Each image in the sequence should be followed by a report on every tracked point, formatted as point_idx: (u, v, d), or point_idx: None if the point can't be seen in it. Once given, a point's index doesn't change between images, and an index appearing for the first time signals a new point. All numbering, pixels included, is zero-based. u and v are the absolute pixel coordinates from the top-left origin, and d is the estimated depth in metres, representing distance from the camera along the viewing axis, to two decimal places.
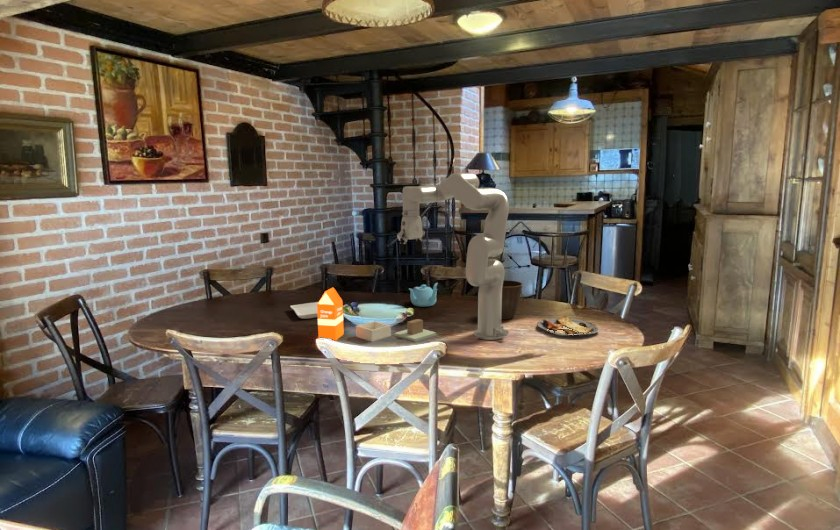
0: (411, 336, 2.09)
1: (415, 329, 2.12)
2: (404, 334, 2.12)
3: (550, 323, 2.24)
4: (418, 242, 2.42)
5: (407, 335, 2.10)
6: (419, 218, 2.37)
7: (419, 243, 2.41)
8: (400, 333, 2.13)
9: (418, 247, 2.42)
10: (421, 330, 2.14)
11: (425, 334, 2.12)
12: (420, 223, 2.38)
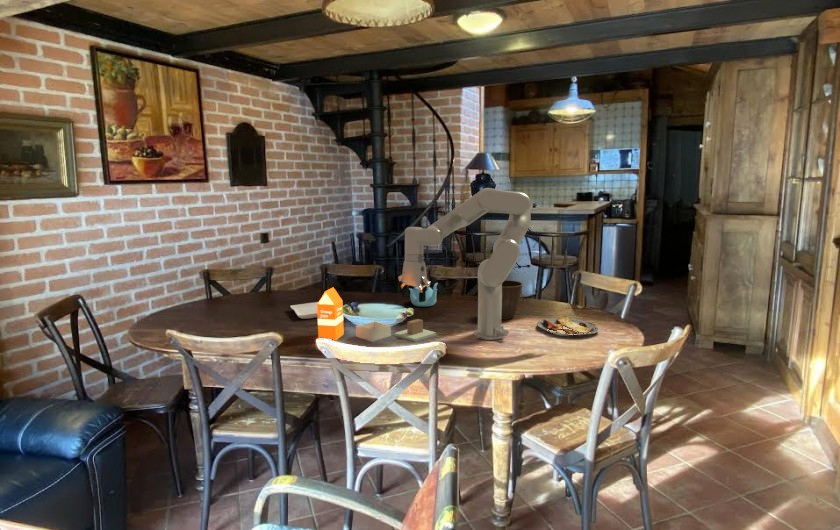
0: (411, 336, 2.09)
1: (415, 329, 2.12)
2: (404, 334, 2.12)
3: (550, 323, 2.24)
4: (406, 288, 2.14)
5: (407, 335, 2.10)
6: None
7: (407, 289, 2.15)
8: (400, 333, 2.13)
9: (406, 294, 2.15)
10: (421, 330, 2.14)
11: (425, 334, 2.12)
12: None
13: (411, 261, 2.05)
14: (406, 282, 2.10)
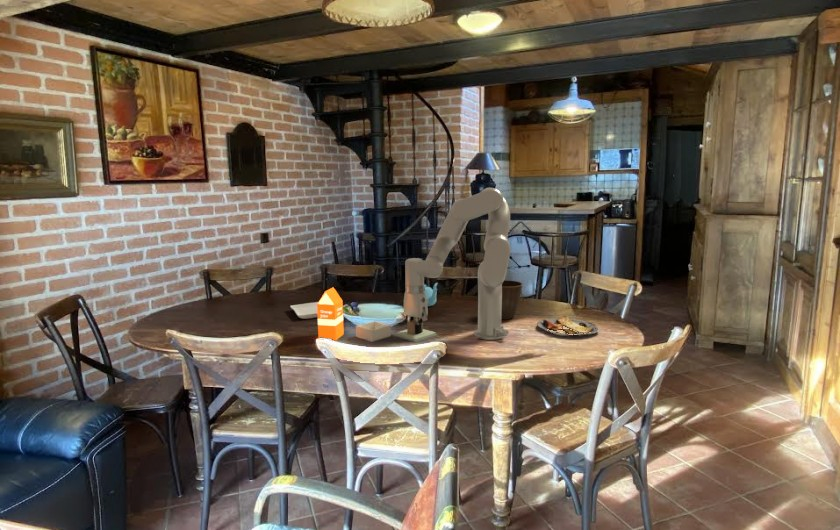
0: (411, 336, 2.09)
1: None
2: (404, 334, 2.12)
3: (550, 323, 2.24)
4: None
5: (407, 335, 2.10)
6: None
7: None
8: (400, 333, 2.13)
9: None
10: None
11: (425, 334, 2.12)
12: None
13: (412, 292, 2.08)
14: (407, 313, 2.13)
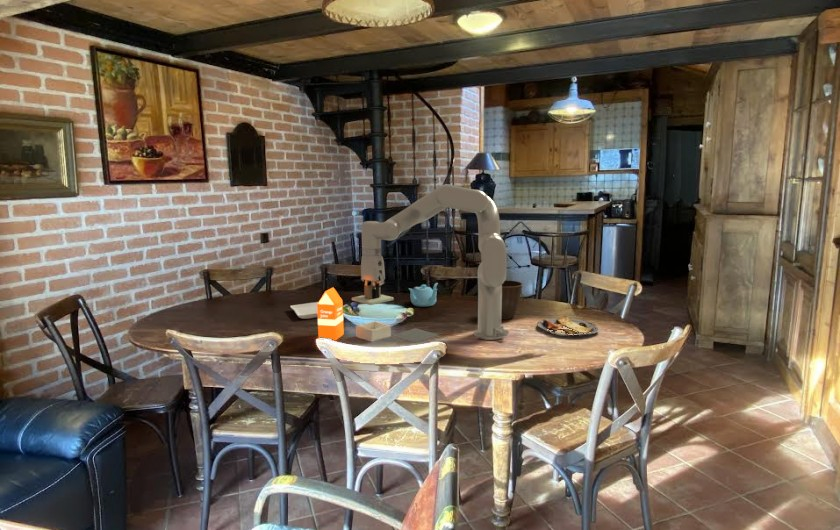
0: (367, 300, 2.05)
1: None
2: (361, 298, 2.08)
3: (550, 323, 2.24)
4: None
5: (364, 299, 2.06)
6: None
7: None
8: (357, 298, 2.09)
9: None
10: (379, 295, 2.10)
11: (382, 298, 2.07)
12: None
13: (368, 256, 2.04)
14: (364, 277, 2.09)
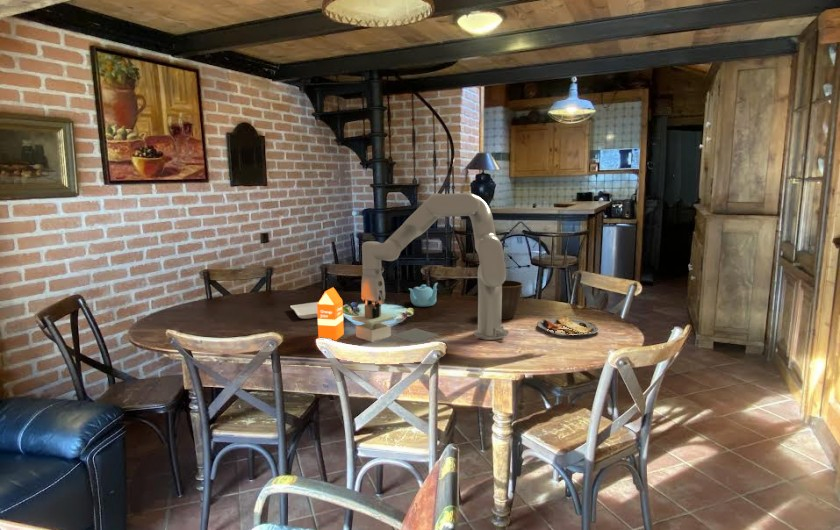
0: (368, 320, 2.06)
1: None
2: (361, 318, 2.09)
3: (550, 323, 2.24)
4: None
5: (364, 319, 2.08)
6: None
7: None
8: (357, 317, 2.10)
9: None
10: (379, 314, 2.12)
11: (382, 318, 2.09)
12: None
13: (368, 276, 2.05)
14: (365, 297, 2.10)
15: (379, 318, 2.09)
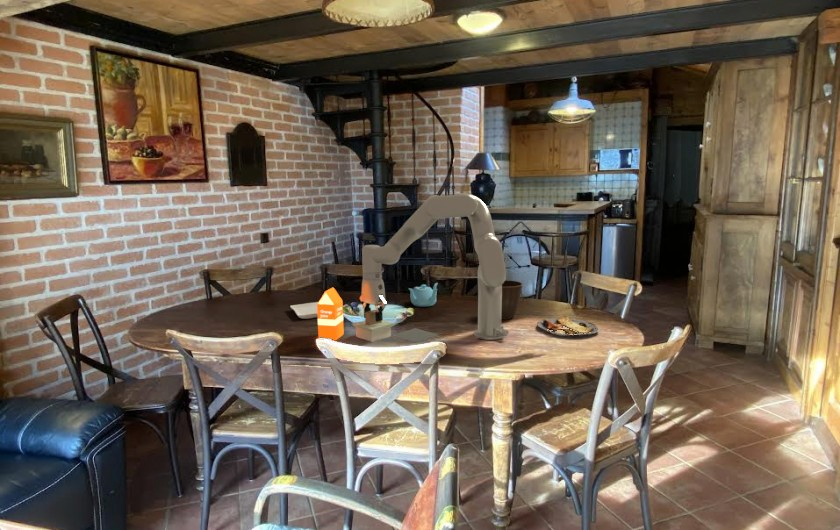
0: (368, 326, 2.07)
1: (372, 320, 2.09)
2: (362, 325, 2.09)
3: (550, 323, 2.24)
4: (368, 309, 2.13)
5: (364, 325, 2.08)
6: None
7: (369, 309, 2.14)
8: (358, 324, 2.11)
9: None
10: (379, 321, 2.12)
11: (383, 324, 2.09)
12: None
13: (368, 279, 2.05)
14: (365, 300, 2.10)
15: (380, 324, 2.09)
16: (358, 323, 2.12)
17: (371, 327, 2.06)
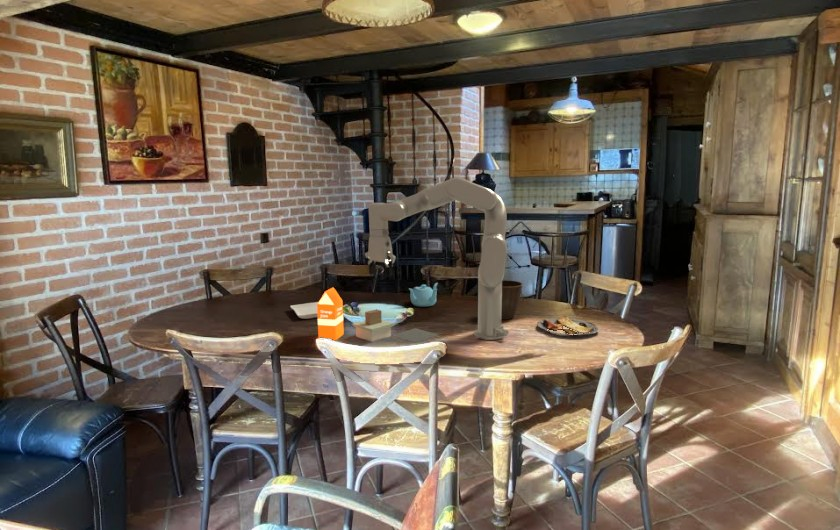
0: (368, 326, 2.07)
1: (372, 320, 2.09)
2: (362, 325, 2.09)
3: (550, 323, 2.24)
4: (373, 265, 2.16)
5: (364, 325, 2.08)
6: None
7: (374, 266, 2.16)
8: (358, 324, 2.11)
9: (373, 270, 2.16)
10: (379, 321, 2.12)
11: (383, 324, 2.09)
12: None
13: (376, 236, 2.07)
14: (372, 258, 2.12)
15: (380, 324, 2.09)
16: (358, 323, 2.12)
17: (371, 327, 2.06)
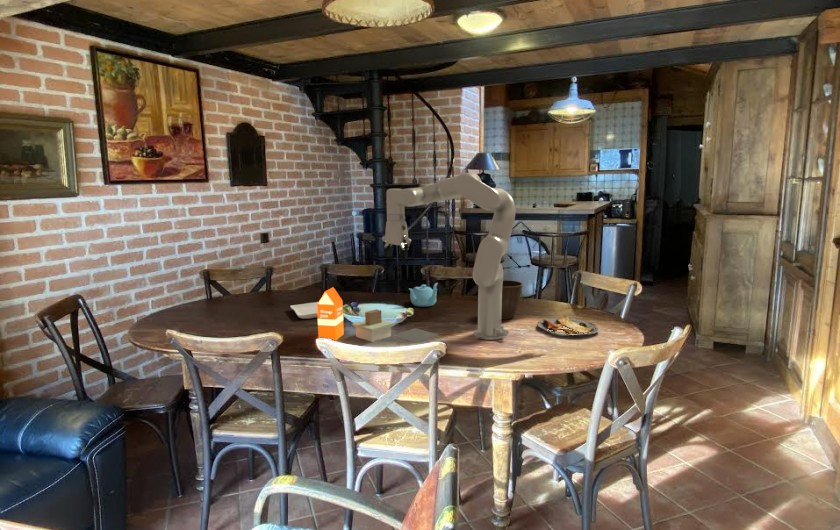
0: (368, 326, 2.07)
1: (372, 320, 2.09)
2: (362, 325, 2.09)
3: (550, 323, 2.24)
4: (389, 248, 2.26)
5: (364, 325, 2.08)
6: None
7: (390, 249, 2.27)
8: (358, 324, 2.11)
9: (389, 253, 2.27)
10: (379, 321, 2.12)
11: (383, 324, 2.09)
12: None
13: (393, 220, 2.18)
14: (389, 241, 2.23)
15: (380, 324, 2.09)
16: (358, 323, 2.12)
17: (371, 327, 2.06)
